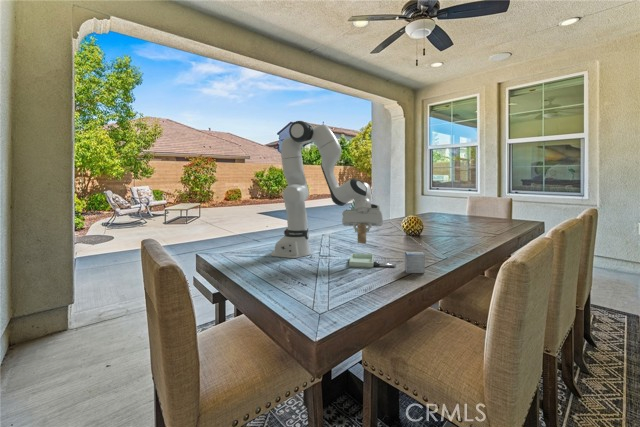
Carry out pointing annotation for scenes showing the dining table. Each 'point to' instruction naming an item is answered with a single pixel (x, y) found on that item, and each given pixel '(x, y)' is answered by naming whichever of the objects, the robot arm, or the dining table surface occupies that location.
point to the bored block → (361, 233)
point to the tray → (361, 260)
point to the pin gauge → (383, 265)
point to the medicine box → (414, 262)
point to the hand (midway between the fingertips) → (361, 231)
